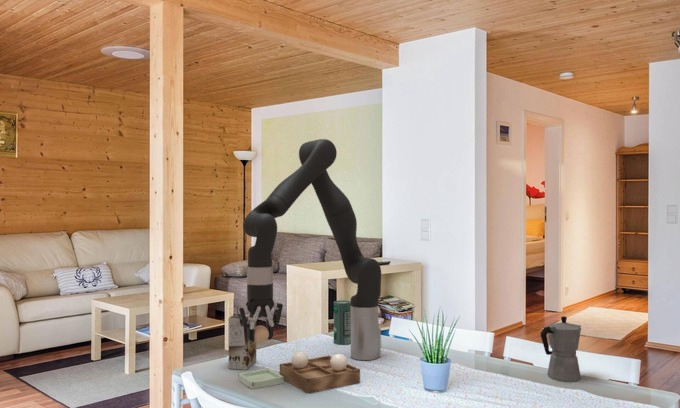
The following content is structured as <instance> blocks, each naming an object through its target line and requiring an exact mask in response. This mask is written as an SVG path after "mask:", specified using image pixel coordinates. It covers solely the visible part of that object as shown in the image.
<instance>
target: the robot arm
mask: <svg viewBox="0 0 680 408" xmlns="http://www.w3.org/2000/svg"><path fill="white" fill-rule="evenodd" d="M298 157H299V162H300V164H301V166H300V167H298V168H297V169H296V170H295V171H293V173H291V174H290V175H288V177H286V178H285V179H283V181H281V182H280V183H279V184H278V185H277V186H276V187H274V189H273V190H272V192H271V193H270V194H269V195H268V196H267V198H265V200H264V201H262V202H260V203H259V204H258V205H257V206H256V207H254V208H253V209H252V210H251V211H250V212H248V214H247V215H246V216H245V218H244V220H243V222H242V223H243V224H242V228H243V231H244V233H245V234H246V236H247V235H248V237H251V238H256V239H255V243H254V245H252V246H250V247H249V248H248V252H247V273H246V299H247V301H246V303H245V305H243V306H237V307H236V311H237V313H238V316H239V320H240V324H241V326H242V327H244V328H247V338H248V340H249V341H250V342H254V329H253V328H254V325H255V322H256V323H257V321H258V318H263V319H264V321H265V322H266V326H265V327H266V328H267V329H268V331H269V337H268V339H267V341H268V340H270V341H271V340H272V338H273V337H274V326H275V325H278V324H280V321H281V315H282V313H283V309H284V305H283V303H281V302H278V301H277V302H275V301H274V299H273V298H274V271H273V250H274V247H275V242H276V240H277V239H276V238H277V233H278V223H277V220H276V219H277V218H280V217H282V216H284V215H285V214H286V213H287V212H288V210H289V209H290V208H291V207H292V206H293V204H294V203H295V202H296V201H297V199H298V198H299V197H300V196H301V195H302V194H303V192H305V190H306V189H307V188H308V187H309V186H310V185H312V187H313V189H314V193H315V194H316V197H317V199H318V201H319V204H320V206H321V208H322V212H323V215H324V216H325V219H326V222H327V223H328V224H327V225H328V227H329V228H330V231H331V234H332V236H333V238H334V241H335V243H336V246H337V249H338V251H339V254H340V258H341V260H342V264H343V269H344V271H345V274H346V277H347V279H348V280H349V281H350V282H352V283H354V284H356V285H357V289H356V294H354V295H352V296H351V297H350V300H349V301H350V305H351V344H350V357H351V358H352V359H354V360H356V361H357V360H359V361H372V360H376V359H378V358H380V357H382V351H381V350H382V349H381V348H382V340H381V339H382V334H381V332H382V329H381V328H380V327H379V299H380V298H381V291H382V290H381V289H382V286H381V285H382V269H381V264H380V263H379V261H378V260H376V259H375V258H371V257H365V256H364V255H363V253H362V251H361V248H360V247H359V244H358V240H357V225H358V222H357V217H356V213H355V211H354V209H353V206H352V204H351V202H350V200H349V198H348V197H347V196H346V194H345V192H343V191H342V190H341V189H340V188H339V187H338V186H337V185H336V184H335V182H334V181H333V180H332V179H331V177H330V174H329V173H328V169H329V168H330V167H331V166H332V165H333V164H334V163H335V162H336V159H337V148H336V146H335V144H334V143H333V142H332V141H331V140H329V139H326V138H321V139H320V138H319V139H314V140H310V141H307V142H304V143H302V144H301V146H300V147H299V150H298ZM272 309H273V315H272V313H271V311H272ZM247 310H248V313H250V314H249V317H248V322H247V320H246V316H245V314H246V313H247Z"/></svg>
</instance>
